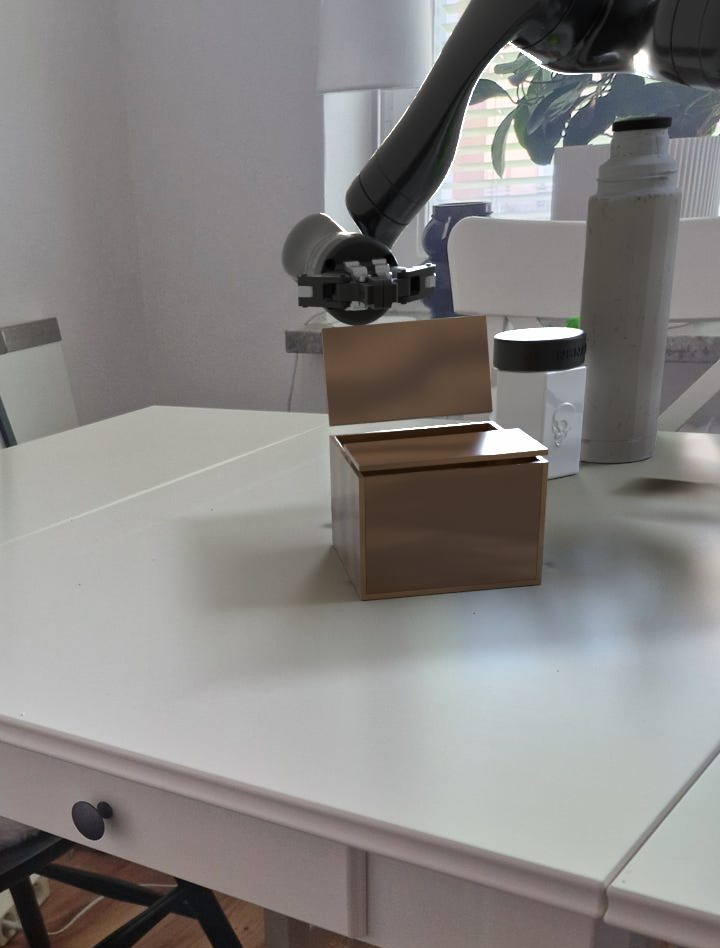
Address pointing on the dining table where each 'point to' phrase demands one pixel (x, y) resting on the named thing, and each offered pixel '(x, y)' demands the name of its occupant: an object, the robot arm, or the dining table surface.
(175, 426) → the dining table surface
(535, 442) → the carton
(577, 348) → the jar
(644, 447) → the thermos bottle
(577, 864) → the dining table surface
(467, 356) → the flap
